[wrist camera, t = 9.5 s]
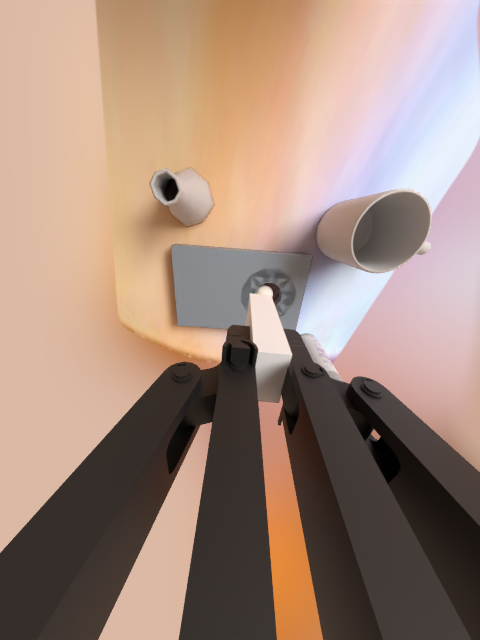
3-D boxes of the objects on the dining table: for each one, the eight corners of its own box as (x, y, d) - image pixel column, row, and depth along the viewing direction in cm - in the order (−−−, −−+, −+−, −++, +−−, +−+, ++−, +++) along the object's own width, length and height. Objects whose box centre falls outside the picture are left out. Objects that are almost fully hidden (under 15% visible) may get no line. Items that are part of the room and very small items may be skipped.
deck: (176, 243, 32) (170, 245, 29) (307, 254, 32) (312, 256, 30) (181, 319, 38) (177, 325, 36) (291, 327, 38) (294, 333, 36)
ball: (253, 283, 34) (258, 289, 31) (270, 282, 35) (276, 288, 32) (252, 300, 36) (257, 307, 33) (268, 299, 36) (274, 305, 33)
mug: (307, 252, 32) (335, 264, 22) (330, 192, 28) (376, 176, 18) (372, 269, 33) (426, 288, 23) (402, 215, 29) (482, 210, 20)
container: (318, 333, 39) (358, 391, 26) (313, 352, 41) (348, 414, 28) (295, 332, 39) (323, 389, 25) (292, 351, 41) (316, 413, 28)
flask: (192, 156, 27) (167, 122, 18) (223, 207, 29) (214, 199, 20) (155, 190, 28) (114, 175, 20) (186, 235, 31) (164, 239, 22)
